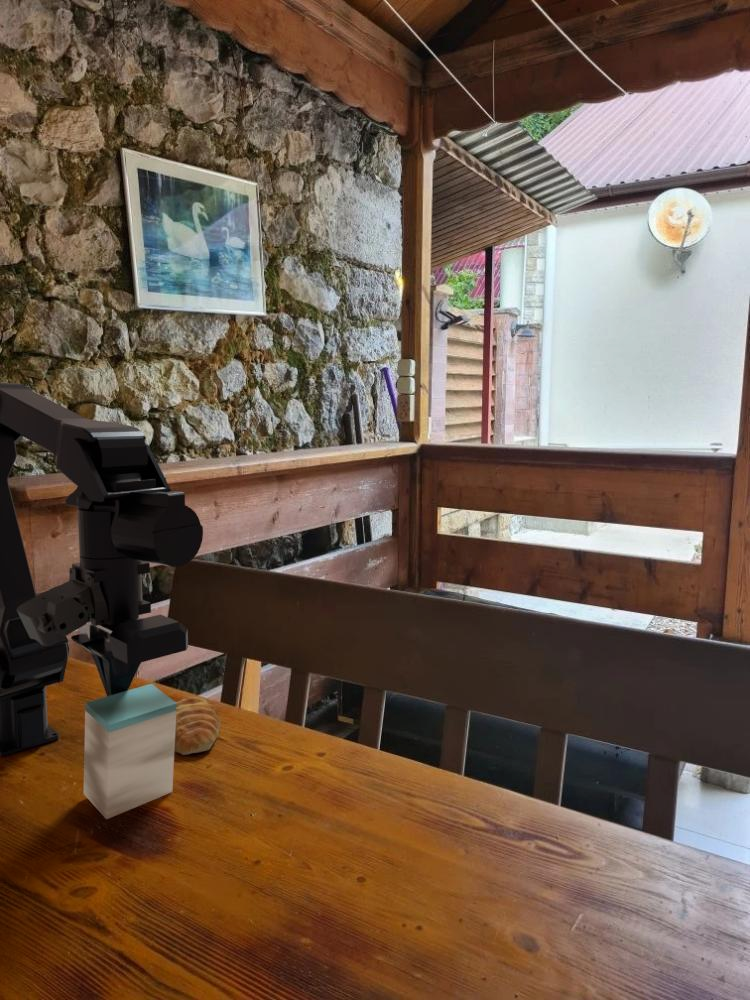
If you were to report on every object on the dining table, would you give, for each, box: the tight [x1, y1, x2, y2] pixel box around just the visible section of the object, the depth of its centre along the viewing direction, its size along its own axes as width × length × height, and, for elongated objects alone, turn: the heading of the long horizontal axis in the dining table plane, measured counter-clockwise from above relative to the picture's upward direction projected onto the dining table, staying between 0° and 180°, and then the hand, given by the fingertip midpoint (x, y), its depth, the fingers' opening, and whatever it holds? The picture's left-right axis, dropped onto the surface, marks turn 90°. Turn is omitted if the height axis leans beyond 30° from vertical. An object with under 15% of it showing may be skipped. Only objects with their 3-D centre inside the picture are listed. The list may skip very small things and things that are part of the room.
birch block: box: [83, 683, 177, 820], centre depth 71 cm, size 5×7×10 cm
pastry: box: [174, 696, 222, 756], centre depth 85 cm, size 9×7×4 cm
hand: (116, 703), depth 73 cm, fingers closed
